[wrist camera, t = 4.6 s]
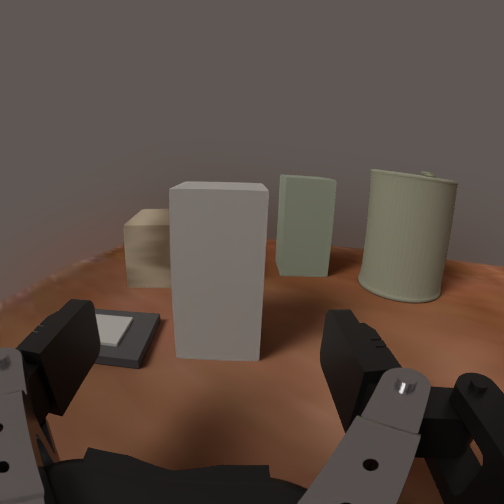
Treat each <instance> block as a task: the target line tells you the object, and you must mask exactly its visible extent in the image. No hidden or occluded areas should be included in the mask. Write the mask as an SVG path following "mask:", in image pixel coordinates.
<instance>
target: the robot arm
mask: <svg viewBox="0 0 504 504" xmlns="http://www.w3.org/2000/svg"><path fill="white" fill-rule="evenodd" d="M100 346H101V343H100V336H99V331H98V326H97V320H96V314H95V308H94V305H93V303H92V301H89V300H78V299H71V300H69V301H68V302H67V303H66V304H65V305H64V306H63V307H62V308H61V309H60V310H59V311H58V312H56V313H54V314H52V315H50V316H48V317H47V318H46V319H45V320H44V321H43V322H42V323H41V324H40V326H39V325H38V326H37V327H36V328H35V329H34V332H33V331H32V332H31V333H30V334H29V335H28V336H27V337H26V338H25V339H24V340H23V341H22V342H21V344H20V345H19V346H18V347H17V348H16V349H14V348H0V504H396V503H397V501H398V499H399V496H400V494H401V491H402V489H403V486H404V484H405V481H406V479H407V476H408V473H409V470H410V468H411V465H412V462H413V459H414V457H420V458H425V461H426V463H427V465H428V467H429V470H430V472H431V474H432V476H433V479H434V481H435V483H436V486H437V488H438V490H439V493H440V495H441V497H442V500H443V502H444V504H504V393H503V392H502V391H501V390H500V389H499V388H498V386H497V385H496V384H495V383H494V382H493V381H492V380H491V379H489V378H488V377H486V376H484V375H481V374H478V373H465V374H462V375H461V376H459V377H458V379H457V381H456V383H455V386H454V388H443V387H431V386H430V382H429V380H428V379H427V378H426V377H425V376H424V375H423V374H421V373H419V372H417V371H415V370H412V369H408V368H402V367H401V365H400V364H399V363H398V361H397V360H396V358H395V357H394V355H393V354H392V353H391V351H390V350H389V348H388V347H386V344H385V343H384V341H383V340H381V337H380V336H379V334H378V333H377V332H376V330H374V329H373V328H371V327H370V326H368V325H367V324H365V323H359V321H358V320H357V319H356V317H355V316H354V314H353V313H352V311H351V310H350V309H346V310H328V311H327V313H326V318H325V324H324V331H323V337H322V343H321V349H320V363H321V367H322V370H323V373H324V376H325V378H326V381H327V384H328V387H329V389H330V392H331V395H332V398H333V400H334V403H335V406H336V409H337V412H338V414H339V417H340V420H341V423H342V426H343V428H344V431H345V435H344V437H343V439H342V440H341V442H340V443H339V445H338V446H337V448H336V450H335V451H334V453H333V454H332V456H331V457H330V459H329V460H328V462H327V463H326V465H325V466H324V468H323V469H322V470H321V472H320V473H319V475H318V476H317V478H316V479H315V480H314V482H313V483H312V484H311V486H310V487H309V489H306V488H304V487H301V486H299V485H297V484H294V483H291V482H288V481H284V480H280V479H275V478H270V474H269V465H218V466H211V467H204V468H196V469H188V470H178V471H172V470H167V469H164V468H161V467H158V466H155V465H152V464H149V463H147V462H144V461H141V460H139V459H136V458H133V457H131V456H128V455H123V454H117V453H112V452H107V451H102V450H98V449H93V448H89V447H88V449H87V451H86V454H85V456H84V458H83V459H71V460H65V461H60V458H59V455H58V452H57V449H56V446H55V443H54V440H53V437H52V433H51V430H50V426H49V423H48V421H47V419H46V416H47V414H48V413H51V414H55V415H59V416H63V414H64V413H65V411H66V409H67V408H68V406H69V404H70V402H71V401H72V399H73V397H74V396H75V394H76V392H77V390H78V389H79V387H80V385H81V384H82V382H83V380H84V379H85V377H86V376H87V374H88V372H89V371H90V369H91V367H92V366H93V364H94V363H95V361H96V359H97V358H98V356H99V353H100ZM473 439H474V441H475V442H476V444H477V445H478V447H479V449H480V450H481V452H482V455H483V465H482V467H481V465H480V463H479V461H478V459H477V458H476V456H475V454H474V453H473V451H472V449H471V447H470V446H469V445H470V444H471V442H472V441H473Z"/></svg>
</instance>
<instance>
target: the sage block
mask: <svg viewBox="0 0 504 504" xmlns="http://www.w3.org/2000/svg"><path fill="white" fill-rule="evenodd" d="M335 193H336V180H332V179H328V178H324V177H310V176H296V175H295V176H294V175H280V191H279V209H278V210H279V211H278V227H277V244H276V260H275V261H276V264H277V267H278V270H279V273H280V276H313V277H327V276H328V267H329V258H330V249H331V239H332V229H333V218H334V206H335Z"/></svg>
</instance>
